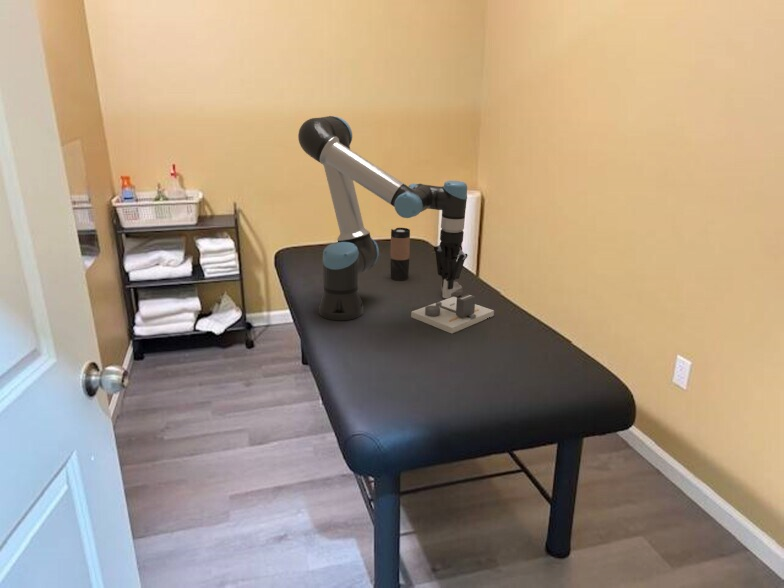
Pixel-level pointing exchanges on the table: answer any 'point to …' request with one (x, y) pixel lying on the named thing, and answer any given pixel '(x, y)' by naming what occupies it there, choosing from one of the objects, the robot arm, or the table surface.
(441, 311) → the console
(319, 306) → the robot arm
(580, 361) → the table surface
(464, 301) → the fader
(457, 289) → the stone
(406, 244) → the travel mug
